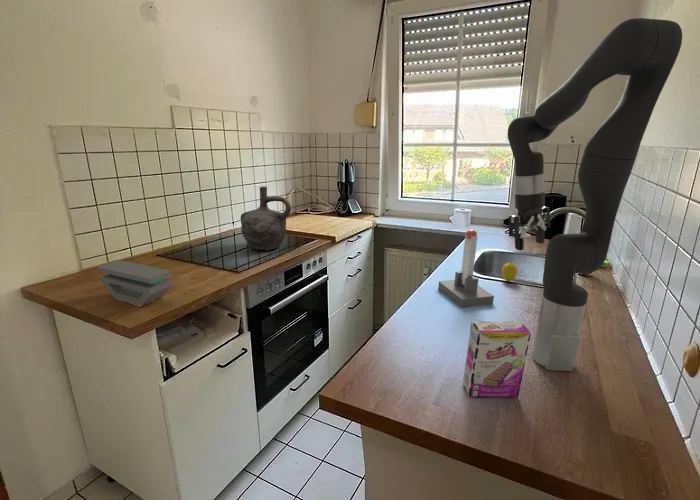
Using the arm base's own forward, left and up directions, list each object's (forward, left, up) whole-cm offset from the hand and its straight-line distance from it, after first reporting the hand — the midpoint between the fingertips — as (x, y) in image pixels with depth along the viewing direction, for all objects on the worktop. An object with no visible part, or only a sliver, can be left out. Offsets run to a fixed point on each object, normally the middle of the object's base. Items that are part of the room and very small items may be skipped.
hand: (530, 246), depth 108 cm
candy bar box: (-35, +18, -24) cm, 46 cm away
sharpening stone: (+2, +124, -24) cm, 127 cm away
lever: (+17, +13, -20) cm, 29 cm away
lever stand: (+17, +13, -24) cm, 32 cm away
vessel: (+64, +99, -24) cm, 120 cm away
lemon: (+33, -7, -24) cm, 41 cm away
